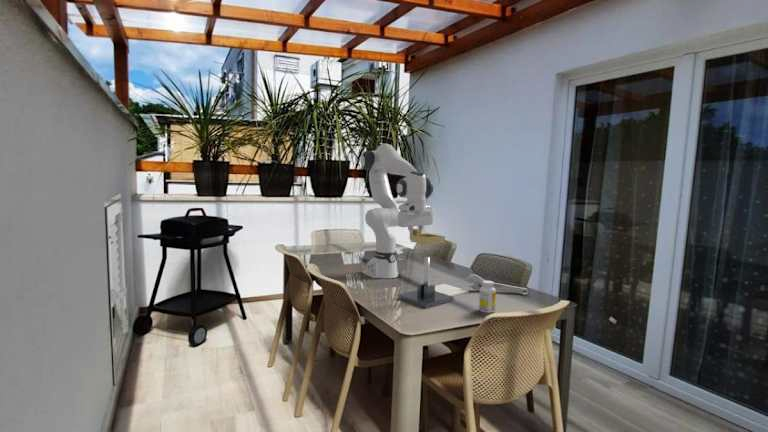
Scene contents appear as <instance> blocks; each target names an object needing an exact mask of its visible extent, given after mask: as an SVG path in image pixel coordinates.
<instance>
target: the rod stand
mask: <svg viewBox="0 0 768 432" xmlns="http://www.w3.org/2000/svg"><path fill="white" fill-rule="evenodd" d="M423 259H424V260H423V261H424V262H423V263H424V264H423V282H422V283H418V284H417V290H412V291H408V292H404V293H399V294H398V299H399V300H401V301H404V302H407V303H410V304H412V305H414V306H415V305H416V306H418V307H421V308H423V309H430V308H433V307H436V306H437V307H438V306H440V305H444V304H447V303H451V302H454V297H455V296H449V295H446V294H443V293H440V292H437V291H435V286H436V285H434V284H430V261H431V260H430V259H431V258H430V257H429V256H425V257H424V258H423Z"/></svg>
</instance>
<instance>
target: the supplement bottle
mask: <svg viewBox="0 0 768 432" xmlns="http://www.w3.org/2000/svg"><path fill="white" fill-rule="evenodd" d="M494 283H495V282H494V281H492V280H486V281H483V282H482V284H483V287H481V288H480V291H479V300H478V301H479V304H478V306H479V307H478V309H479V311H480V312H482V313H487V314H491V313H492V314H493V313H494V312H495V311H496V294H497V291H496V290H497V289H495V288H494V287H493V285H494Z"/></svg>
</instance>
